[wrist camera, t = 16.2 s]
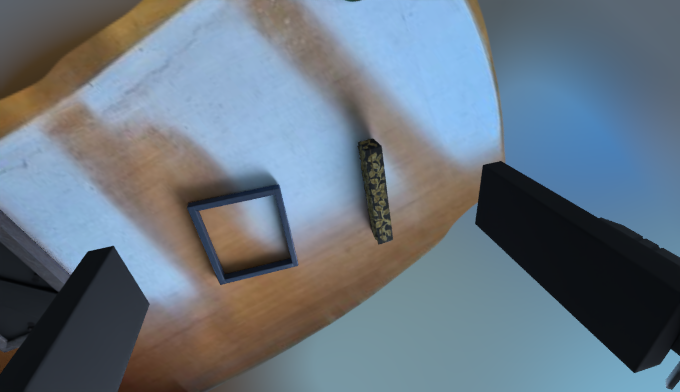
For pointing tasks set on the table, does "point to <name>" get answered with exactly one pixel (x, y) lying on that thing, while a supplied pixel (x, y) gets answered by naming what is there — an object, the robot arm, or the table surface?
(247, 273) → the dark grey open frame
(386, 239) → the decorative block
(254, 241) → the table surface
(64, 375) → the robot arm
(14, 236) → the picture frame
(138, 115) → the table surface
